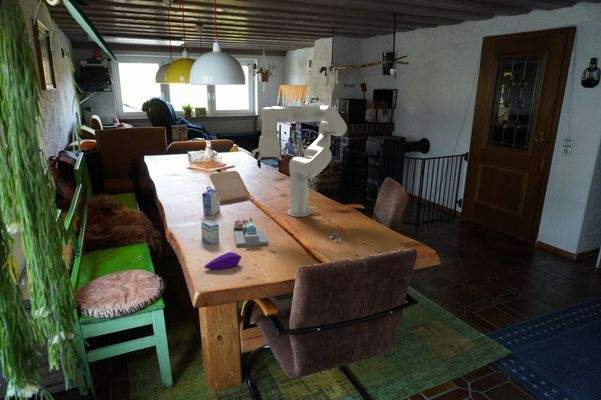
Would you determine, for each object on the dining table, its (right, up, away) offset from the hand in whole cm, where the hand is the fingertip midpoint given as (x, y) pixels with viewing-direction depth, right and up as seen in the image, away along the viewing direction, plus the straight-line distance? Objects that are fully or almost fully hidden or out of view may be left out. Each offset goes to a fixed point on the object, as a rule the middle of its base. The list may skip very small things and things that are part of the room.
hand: (269, 167), depth 201 cm
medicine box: (-25, -35, -20) cm, 47 cm away
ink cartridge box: (-33, -23, +19) cm, 45 cm away
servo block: (-7, -34, -17) cm, 39 cm away
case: (-29, -15, +47) cm, 58 cm away
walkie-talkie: (-13, -30, -1) cm, 33 cm away
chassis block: (-7, -34, -17) cm, 39 cm away
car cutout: (+33, -37, -18) cm, 53 cm away
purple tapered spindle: (-14, -43, -45) cm, 63 cm away
